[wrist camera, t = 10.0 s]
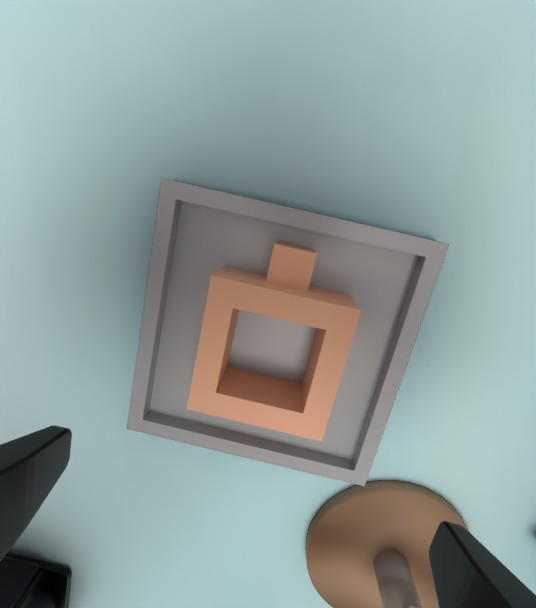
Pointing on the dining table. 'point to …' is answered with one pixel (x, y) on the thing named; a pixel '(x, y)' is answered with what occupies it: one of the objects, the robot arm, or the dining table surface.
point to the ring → (286, 306)
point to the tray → (277, 324)
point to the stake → (377, 546)
